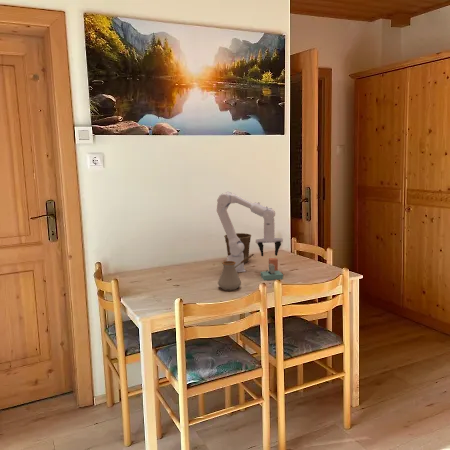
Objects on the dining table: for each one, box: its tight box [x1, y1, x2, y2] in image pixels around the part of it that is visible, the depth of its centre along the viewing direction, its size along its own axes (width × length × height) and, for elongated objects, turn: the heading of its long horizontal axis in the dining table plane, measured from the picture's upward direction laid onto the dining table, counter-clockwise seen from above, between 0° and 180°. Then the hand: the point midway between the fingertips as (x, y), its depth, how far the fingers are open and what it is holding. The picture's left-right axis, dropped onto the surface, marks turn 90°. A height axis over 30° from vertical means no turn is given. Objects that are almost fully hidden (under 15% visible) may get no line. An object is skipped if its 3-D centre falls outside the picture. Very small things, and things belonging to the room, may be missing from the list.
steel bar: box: [268, 263, 275, 275], centre depth 243 cm, size 2×4×7 cm, turn 8°
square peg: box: [268, 257, 279, 271], centre depth 255 cm, size 4×4×7 cm
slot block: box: [260, 270, 284, 281], centre depth 243 cm, size 10×8×2 cm
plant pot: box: [223, 232, 252, 264], centre depth 277 cm, size 16×16×16 cm
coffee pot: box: [217, 253, 255, 291], centre depth 228 cm, size 21×12×15 cm, turn 124°
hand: (269, 255), depth 252 cm, fingers open, 7 cm apart
